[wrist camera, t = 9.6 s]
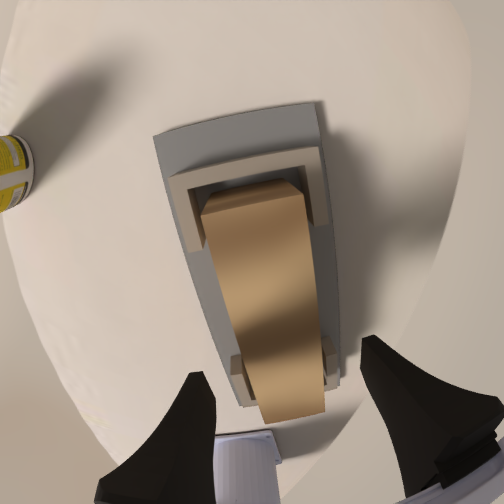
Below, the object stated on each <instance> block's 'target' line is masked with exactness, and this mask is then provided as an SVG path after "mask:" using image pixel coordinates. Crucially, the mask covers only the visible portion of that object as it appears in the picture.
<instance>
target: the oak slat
mask: <svg viewBox="0 0 504 504" xmlns="http://www.w3.org/2000/svg"><path fill="white" fill-rule="evenodd" d="M201 220H202V224H203V227H204V231H205V235H206V238H207V242H208V246H209V249H210V253H211V256H212V260H213V263H214V267H215V270H216V274H217V277H218V281H219V284H220V288H221V291H222V294H223V298H224V301H225V304H226V308H227V311H228V314H229V317H230V321H231V324H232V327H233V330H234V333H235V337H236V340H237V343H238V346H239V349H240V352H241V355H242V358H243V361H244V364H245V367H246V370H247V373H248V376H249V379H250V382H251V385H252V388H253V391H254V394H255V397H256V400H257V403H258V406H259V409H260V411H261V414H262V417H263V420H264V423H265V424H270V423H276V422H281V421H287V420H292V419H297V418H301V417H306V416H310V415H314V414H318V413H323V412H325V398H324V378H323V362H322V347H321V335H320V323H319V312H318V302H317V292H316V283H315V274H314V266H313V258H312V250H311V242H310V235H309V228H308V221H307V214H306V208H305V201H304V195H303V193H301V192H300V191H299V190H298V189H296V188H295V187H294V186H293V185H291V184H290V183H289V182H288V181H286V180H285V179H284V178H278V179H273V180H268V181H263V182H258V183H253V184H249V185H244V186H239V187H235V188H230V189H226V190H221V191H217V192H213V193H211V195H210V197H209V199H208V201H207V203H206V205H205V207H204V209H203V211H202V213H201Z"/></svg>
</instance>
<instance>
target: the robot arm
mask: <svg viewBox="0 0 504 504" xmlns="http://www.w3.org/2000/svg"><path fill="white" fill-rule="evenodd" d="M360 370H361V372H362V375H363V378H364V381H365V383H366V386H367V388H368V390H369V392H370V394H371V396H372V398H373V400H374V402H375V404H376V406H377V408H378V410H379V412H380V414H381V416H382V418H383V420H384V422H385V424H386V426H387V429H388V431H389V434H390V437H391V440H392V443H393V446H394V450H395V453H396V456H397V460H398V463H399V468H400V471H401V476H402V480H403V485H404V491H405V496H406V499H404V500H402V501H399V502H397V503H395V504H490V503H492V502H493V501H494V500H495V499H497V498H498V497H499V496H500V495H501V494H503V493H504V437H503V438H502V439H500V440H499V441H498V442H497V441H496V440H495V438H496V437H497V434H496V432H495V431H494V430H495V429H496V428H497V426H498V425H499V424H500V423H501V421H502V420H503V418H504V405H503V404H502V403H501V401H500V400H499V399H498V397H496V396H490V395H484V394H479V393H476V392H472V391H468V390H465V389H462V388H459V387H457V386H454V385H451V384H449V383H446V382H444V381H442V380H440V379H438V378H436V377H434V376H432V375H430V374H428V373H427V372H425V371H423V370H422V369H420V368H419V367H417V366H415V365H414V364H413V363H411V362H410V361H408V360H407V359H405V358H404V357H402V356H401V355H400V354H398V353H397V352H396V351H395V350H393V349H392V348H391V347H389V346H388V345H387V344H386V343H384V342H383V341H382V340H381V339H380V338H378V337H377V336H376V335H371V336H368V337H364V338H362V347H361V363H360ZM215 431H216V398H215V396H214V394H213V392H212V390H211V388H210V386H209V384H208V382H207V379H206V377H205V375H204V373H203V371H200V372H191V373H189V374H188V376H187V378H186V380H185V382H184V384H183V386H182V388H181V390H180V391H179V393H178V395H177V397H176V399H175V400H174V402H173V404H172V405H171V407H170V409H169V410H168V412H167V413H166V415H165V416H164V418H163V419H162V421H161V422H160V424H159V425H158V427H157V428H156V429H155V431H154V432H153V433H152V434H151V436H150V437H149V438H148V439H147V440H146V441H145V443H144V444H143V445H142V446H141V447H140V448H139V449H138V450H137V451H136V452H135V453H134V454H133V455H132V456H131V457H129V458H128V459H127V460H126V461H125V462H124V463H122V464H121V465H120V466H119V467H117V468H116V469H115V470H113V471H112V472H110V473H109V474H107V475H106V476H104V477H103V478H101V479H100V480H99V483H98V486H97V490H96V494H95V499H94V503H95V504H280V496H279V488H278V480H277V472H276V465H277V464H281V463H282V460H281V457H280V454H279V451H278V448H277V445H276V442H275V439H274V436H273V433H272V431H270V430H265V431H258V432H251V433H243V434H235V435H224V436H215Z"/></svg>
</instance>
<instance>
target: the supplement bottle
mask: <svg viewBox="0 0 504 504" xmlns="http://www.w3.org/2000/svg"><path fill="white" fill-rule="evenodd" d="M33 174H34V165H33V158H32V153H31V150H30V148H29V146H28V144H27V143H26V142H25V140H24V139H22V138H21V137H19V136H16V135H7V136H0V213H1V212H3V211H6V210H8V209H10V208H12V207H14V206H16V205H18V204H20V203H21V202H22V201H23V200H24V199H25V198H26V196H27V195H28V193H29V191H30V189H31V185H32V181H33Z"/></svg>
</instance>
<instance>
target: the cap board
mask: <svg viewBox="0 0 504 504" xmlns="http://www.w3.org/2000/svg"><path fill="white" fill-rule="evenodd" d="M153 140H154V144H155V149H156V153H157V157H158V161H159V165H160V169H161V173H162V177H163V181H164V185H165V189H166V193H167V196H168V200H169V204H170V207H171V211H172V215H173V218H174V222H175V225H176V228H177V232H178V235H179V239H180V242H181V245H182V249H183V252H184V255H185V258H186V262H187V265H188V268H189V271H190V274H191V277H192V280H193V283H194V286H195V289H196V292H197V295H198V298H199V301H200V304H201V307H202V310H203V313H204V316H205V318H206V321H207V324H208V327H209V330H210V332H211V335H212V338H213V341H214V343H215V346H216V349H217V351H218V354H219V356H220V359H221V362H222V364H223V367H224V369H225V372H226V374H227V377H228V379H229V382H230V384H231V387H232V389H233V392H234V394H235V397H236V399H237V401H238V404H239V406H243V408H244V407H251V406H257V405H258V403H257V400H256V397H255V394H254V391H253V388H252V385H251V382H250V379H249V376H248V373H247V370H246V367H245V364H244V361H243V358H242V355H241V352H240V349H239V346H238V343H237V340H236V337H235V333H234V330H233V327H232V324H231V321H230V317H229V314H228V311H227V308H226V304H225V301H224V298H223V294H222V291H221V288H220V284H219V281H218V277H217V274H216V270H215V267H214V263H213V260H212V256H211V253H210V249H209V246H208V242H207V238H206V235H205V231H204V227H203V224H202V220H201V213H202V211H203V209H204V207H205V205H206V203H207V201H208V199H209V197H210V195H211V193H213V192H217V191H221V190H226V189H230V188H235V187H239V186H244V185H249V184H253V183H258V182H263V181H268V180H273V179H278V178H284V179H285V180H286V181H288V182H289V183H290V184H291V185H293V186H294V187H295V188H296V189H298V190H299V191H300V192H301V193H303V195H304V201H305V208H306V214H307V221H308V228H309V235H310V242H311V250H312V258H313V266H314V274H315V283H316V292H317V302H318V312H319V323H320V335H321V347H322V362H323V378H324V392H325V391H329V390H333V389H337V386H340V321H339V297H338V279H337V265H336V252H335V241H334V231H333V221H332V213H331V204H330V196H329V189H328V181H327V174H326V168H325V161H324V155H323V149H322V143H321V137H320V132H319V126H318V121H317V116H316V111H315V106H314V103H308V104H299V105H291V106H284V107H277V108H271V109H264V110H258V111H253V112H247V113H242V114H237V115H232V116H228V117H223V118H218V119H214V120H210V121H206V122H202V123H198V124H194V125H190V126H186V127H183V128H179V129H175V130H172V131H169V132H165V133H162V134H159V135H155V136H153Z"/></svg>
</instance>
